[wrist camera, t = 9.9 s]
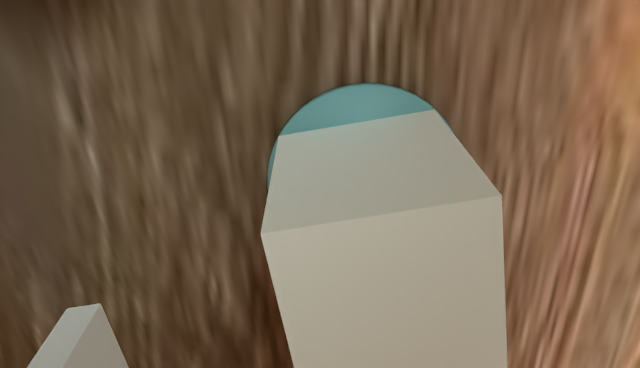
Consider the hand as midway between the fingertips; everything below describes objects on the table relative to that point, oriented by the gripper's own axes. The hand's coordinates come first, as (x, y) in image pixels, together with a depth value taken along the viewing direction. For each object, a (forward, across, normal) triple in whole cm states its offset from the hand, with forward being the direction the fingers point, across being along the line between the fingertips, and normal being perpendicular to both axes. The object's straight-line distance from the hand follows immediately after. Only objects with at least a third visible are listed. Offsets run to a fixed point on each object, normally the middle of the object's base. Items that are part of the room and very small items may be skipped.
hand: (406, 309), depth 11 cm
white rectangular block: (+7, 0, -1) cm, 7 cm away
